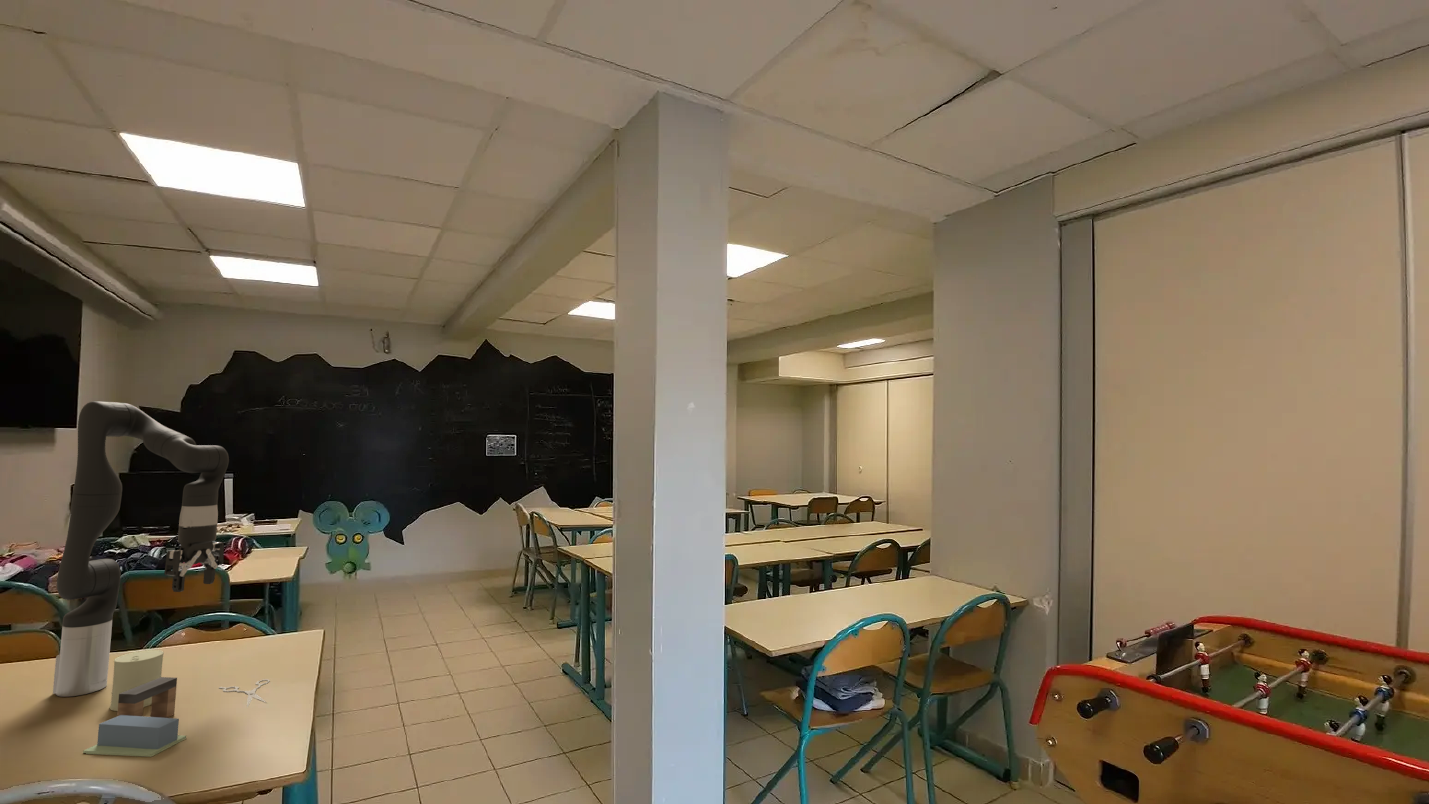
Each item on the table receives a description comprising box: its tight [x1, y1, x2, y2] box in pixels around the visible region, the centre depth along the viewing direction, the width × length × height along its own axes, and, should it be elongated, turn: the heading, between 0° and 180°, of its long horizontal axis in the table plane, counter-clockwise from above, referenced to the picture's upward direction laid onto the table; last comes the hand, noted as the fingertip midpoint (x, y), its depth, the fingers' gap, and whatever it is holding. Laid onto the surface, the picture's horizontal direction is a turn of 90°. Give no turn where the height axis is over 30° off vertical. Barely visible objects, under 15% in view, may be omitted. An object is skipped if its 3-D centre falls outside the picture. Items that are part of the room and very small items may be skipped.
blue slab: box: [96, 715, 180, 749], centre depth 132 cm, size 14×4×4 cm, turn 85°
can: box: [109, 649, 165, 712], centre depth 153 cm, size 9×9×12 cm
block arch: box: [116, 676, 178, 718], centre depth 142 cm, size 4×10×8 cm, turn 177°
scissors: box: [218, 678, 271, 708], centre depth 159 cm, size 11×1×20 cm
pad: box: [82, 734, 187, 758], centre depth 132 cm, size 15×8×1 cm, turn 87°
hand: (193, 587), depth 156 cm, fingers open, 8 cm apart
